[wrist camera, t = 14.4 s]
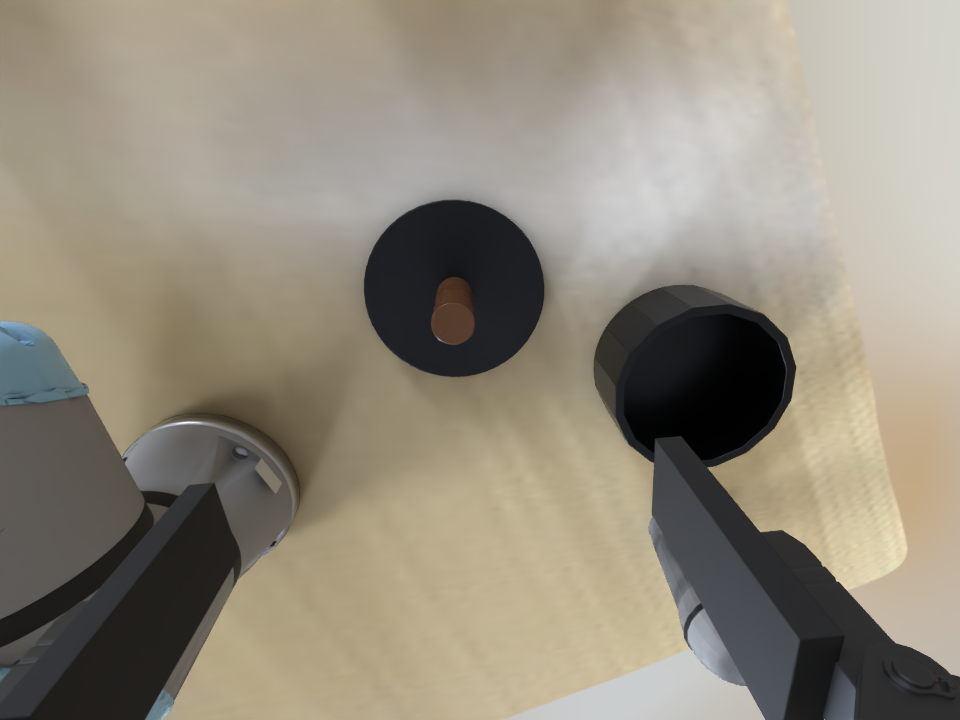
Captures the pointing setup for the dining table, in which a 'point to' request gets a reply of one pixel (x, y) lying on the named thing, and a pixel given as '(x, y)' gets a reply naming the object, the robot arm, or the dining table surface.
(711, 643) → the beverage cup
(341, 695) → the dining table surface
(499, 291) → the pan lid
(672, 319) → the black round bowl
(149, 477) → the robot arm
